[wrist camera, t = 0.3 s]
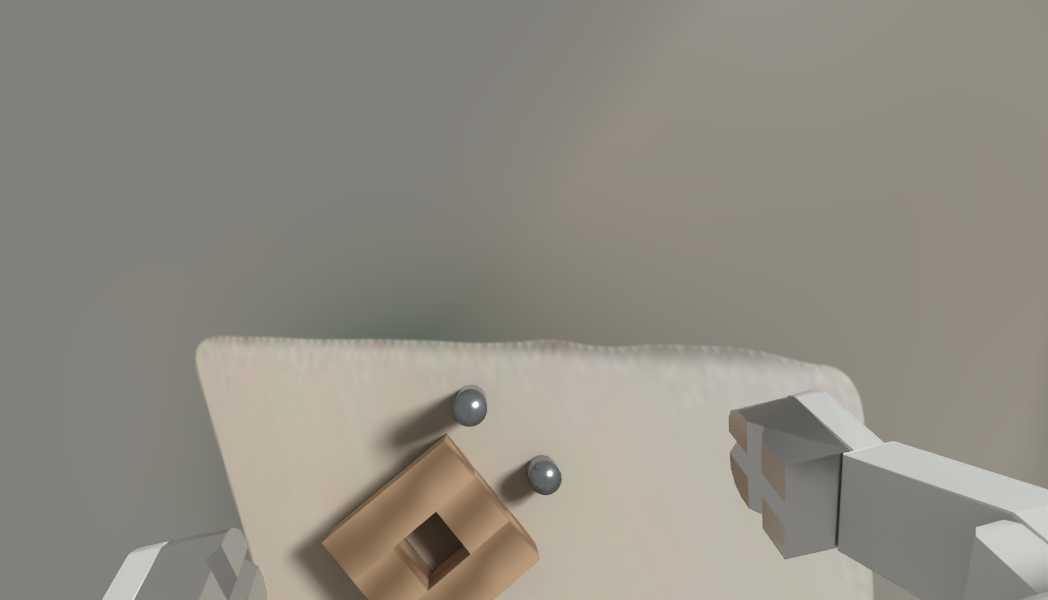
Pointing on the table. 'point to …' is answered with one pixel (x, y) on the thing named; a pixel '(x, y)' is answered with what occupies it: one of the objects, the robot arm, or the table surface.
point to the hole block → (410, 499)
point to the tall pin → (470, 406)
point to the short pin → (543, 475)
